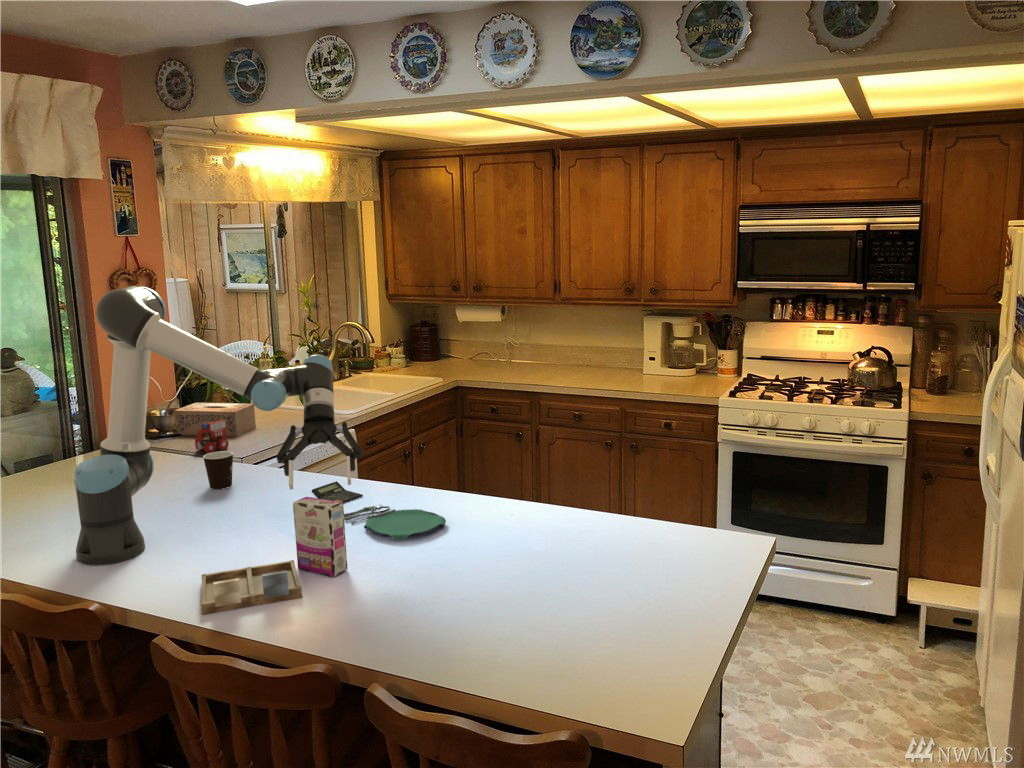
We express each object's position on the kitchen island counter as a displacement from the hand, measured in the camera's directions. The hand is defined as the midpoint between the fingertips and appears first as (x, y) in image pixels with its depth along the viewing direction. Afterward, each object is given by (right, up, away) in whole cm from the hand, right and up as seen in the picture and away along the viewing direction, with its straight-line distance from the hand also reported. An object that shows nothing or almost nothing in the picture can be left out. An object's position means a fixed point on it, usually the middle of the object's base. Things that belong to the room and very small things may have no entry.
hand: (320, 484), depth 191 cm
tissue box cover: (-72, +5, +128) cm, 147 cm away
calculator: (-5, -10, +44) cm, 45 cm away
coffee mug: (-44, -7, +58) cm, 73 cm away
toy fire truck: (-63, 0, +99) cm, 118 cm away
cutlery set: (+14, -14, +22) cm, 29 cm away
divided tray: (-11, -21, -17) cm, 29 cm away
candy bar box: (+2, -19, -7) cm, 20 cm away
